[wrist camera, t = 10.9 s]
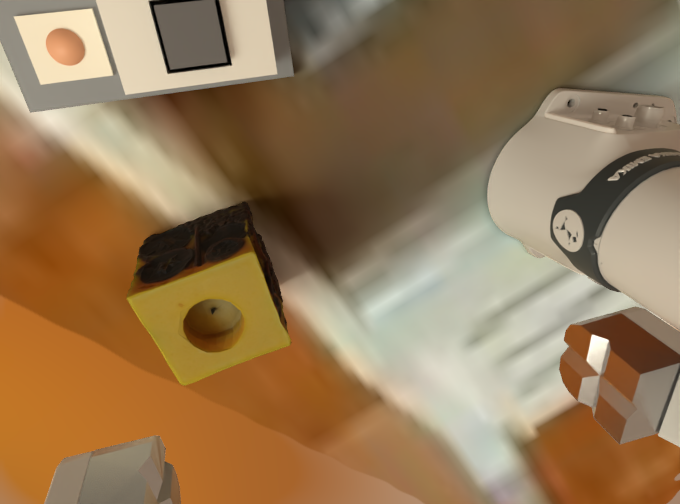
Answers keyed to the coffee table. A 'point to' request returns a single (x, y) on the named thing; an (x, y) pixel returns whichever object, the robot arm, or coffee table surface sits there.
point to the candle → (209, 294)
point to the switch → (191, 33)
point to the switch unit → (131, 49)
